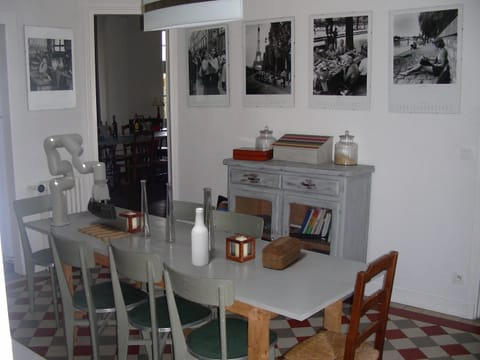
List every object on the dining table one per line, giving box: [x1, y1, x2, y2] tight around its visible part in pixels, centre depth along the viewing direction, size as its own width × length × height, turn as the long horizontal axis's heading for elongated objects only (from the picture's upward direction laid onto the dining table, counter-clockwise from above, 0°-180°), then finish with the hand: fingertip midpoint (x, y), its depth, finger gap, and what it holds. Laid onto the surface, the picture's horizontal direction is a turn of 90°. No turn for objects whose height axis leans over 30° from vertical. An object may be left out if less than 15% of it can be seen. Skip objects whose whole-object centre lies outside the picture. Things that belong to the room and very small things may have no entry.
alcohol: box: [190, 207, 210, 267], centre depth 286 cm, size 9×9×30 cm
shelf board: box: [76, 222, 131, 242], centre depth 346 cm, size 34×18×2 cm, turn 45°
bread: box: [261, 235, 302, 270], centre depth 290 cm, size 14×28×12 cm, turn 150°
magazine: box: [87, 196, 118, 220], centre depth 342 cm, size 17×3×30 cm
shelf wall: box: [100, 215, 128, 233], centre depth 350 cm, size 30×1×9 cm, turn 45°
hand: (101, 210), depth 343 cm, fingers closed on magazine, 3 cm apart
